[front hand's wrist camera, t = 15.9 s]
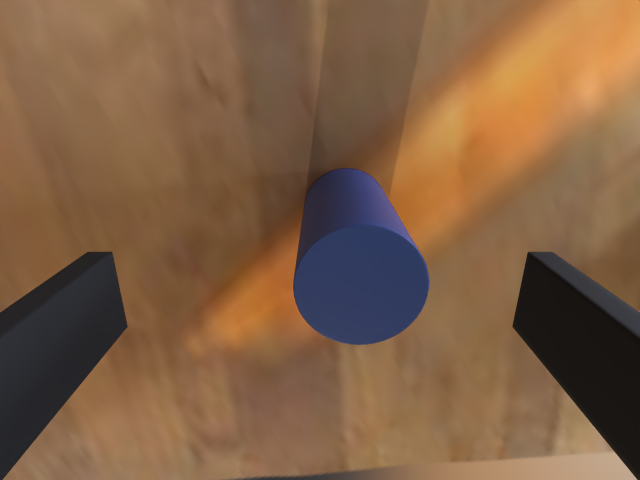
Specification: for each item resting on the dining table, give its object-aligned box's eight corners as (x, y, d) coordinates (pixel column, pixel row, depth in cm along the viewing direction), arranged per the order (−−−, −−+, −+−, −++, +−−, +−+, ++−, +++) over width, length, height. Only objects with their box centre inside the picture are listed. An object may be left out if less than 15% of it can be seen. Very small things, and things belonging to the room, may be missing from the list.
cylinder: (291, 187, 29) (270, 254, 17) (370, 154, 28) (405, 203, 16) (322, 258, 31) (323, 361, 19) (397, 230, 30) (445, 320, 18)
